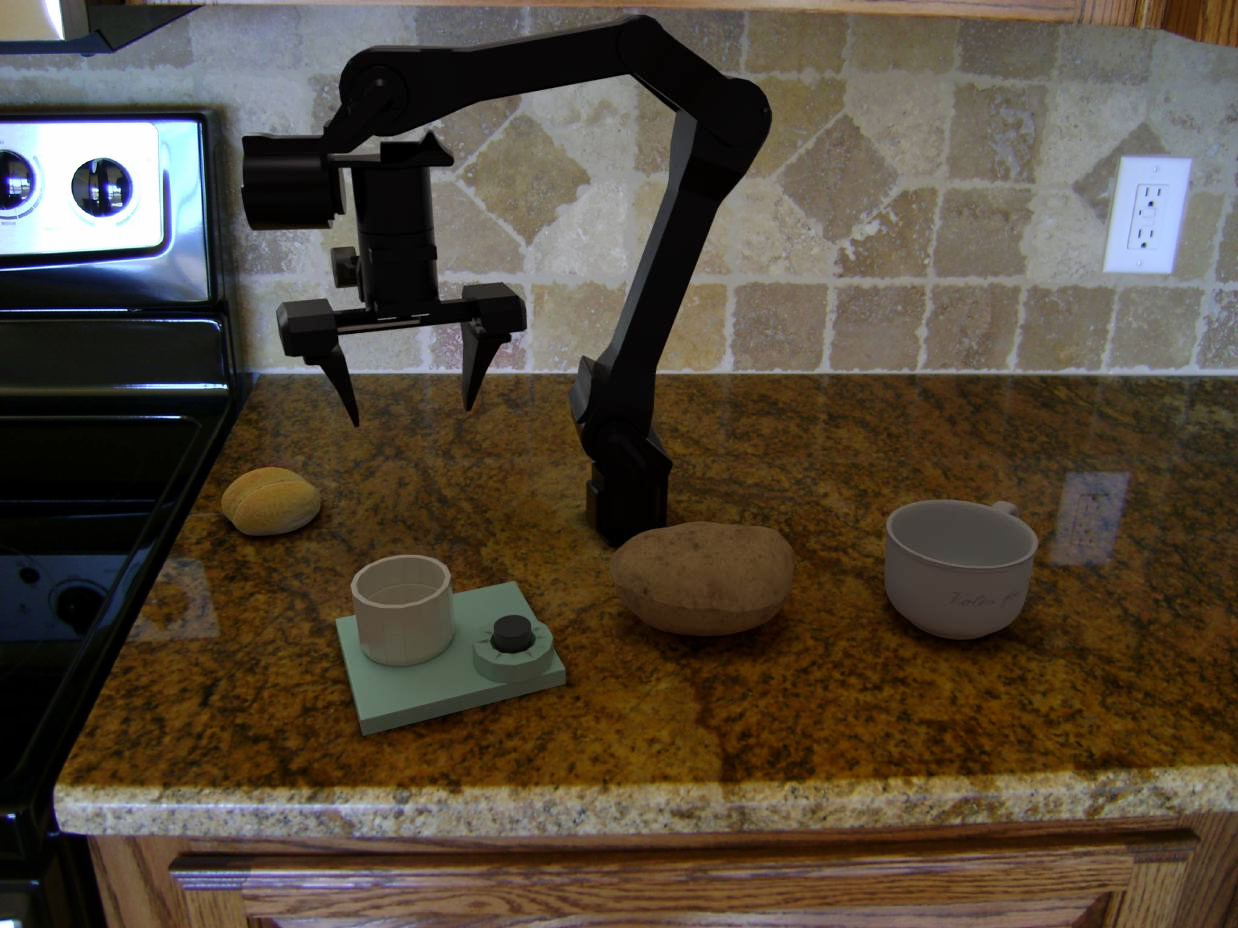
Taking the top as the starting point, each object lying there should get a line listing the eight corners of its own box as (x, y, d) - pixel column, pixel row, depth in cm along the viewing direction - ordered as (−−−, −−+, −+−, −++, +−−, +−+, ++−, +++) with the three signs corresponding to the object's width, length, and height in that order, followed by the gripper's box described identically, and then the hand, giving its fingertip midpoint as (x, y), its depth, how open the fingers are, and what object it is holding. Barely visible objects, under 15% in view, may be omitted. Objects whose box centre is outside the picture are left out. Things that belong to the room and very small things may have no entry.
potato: (605, 590, 76) (606, 504, 73) (775, 586, 77) (784, 501, 73) (611, 665, 67) (612, 571, 64) (803, 660, 68) (814, 567, 65)
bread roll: (250, 549, 81) (243, 509, 79) (214, 511, 87) (206, 472, 85) (339, 519, 86) (334, 481, 84) (299, 485, 92) (293, 448, 90)
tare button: (525, 629, 67) (524, 611, 66) (536, 649, 65) (536, 631, 64) (490, 637, 66) (489, 619, 65) (500, 658, 64) (499, 639, 63)
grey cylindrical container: (442, 603, 72) (438, 547, 70) (465, 654, 66) (460, 595, 64) (352, 622, 69) (344, 565, 67) (367, 677, 64) (359, 616, 61)
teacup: (953, 675, 67) (973, 581, 63) (844, 602, 75) (857, 514, 71) (1072, 617, 73) (1096, 529, 70) (960, 555, 82) (977, 473, 78)
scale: (515, 595, 75) (514, 563, 74) (567, 686, 65) (566, 651, 64) (337, 633, 70) (332, 600, 69) (363, 739, 60) (358, 702, 59)
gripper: (486, 201, 81) (494, 372, 87) (258, 215, 74) (286, 398, 81) (526, 227, 71) (531, 415, 78) (268, 245, 65) (299, 449, 72)
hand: (412, 417), depth 77 cm, fingers open, 9 cm apart
